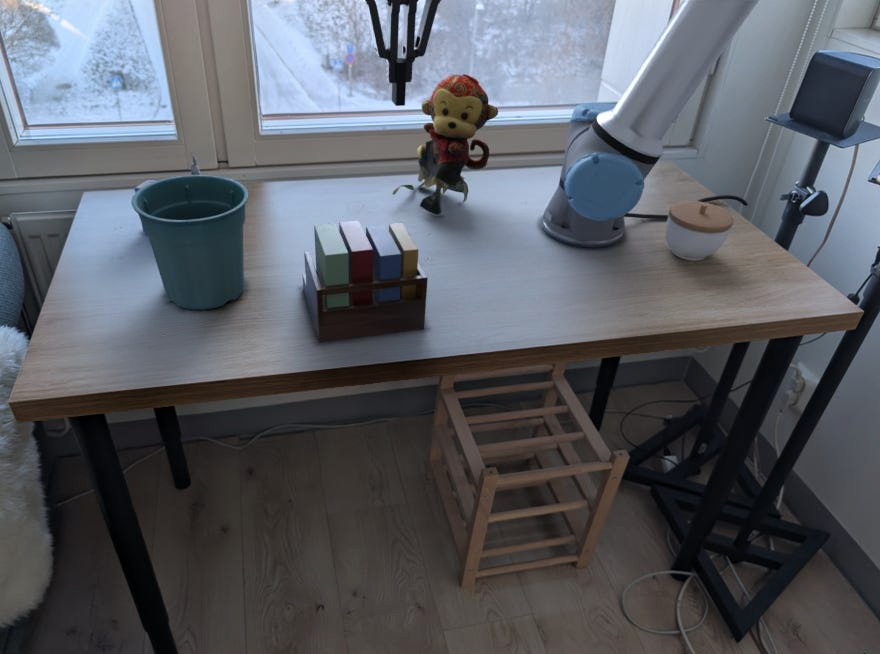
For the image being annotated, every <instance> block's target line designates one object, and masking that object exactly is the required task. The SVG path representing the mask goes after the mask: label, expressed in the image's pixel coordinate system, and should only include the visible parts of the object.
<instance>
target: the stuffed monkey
mask: <svg viewBox="0 0 880 654" xmlns="http://www.w3.org/2000/svg"><path fill="white" fill-rule="evenodd" d="M421 111H422V113H423V114H424V115H426V116H430V119H431V121H432V122H426V123H424V125H423V129H424V130H425V132H426V133H428V134H429V137H430V140H427V141H426V142H425V143H424V144H421V145H419V146H418V148H417V162H418V165H419V174H418V178H417V181H418V182H419V183H421V184H420V185H419V186H418V187H417V189H420V188H422V187H423V186H424V188H425V189H428V188H431V187H433V186H434V185H435V191H434V192H433V193H432V194H431V195H428V196H426V197H424V198H423V199H422V200H421V202H420V203H419V206H420V208H422V209H423V210H425V211H426V212H428V213H430V214H431V215H435V216H437V217H440V216H441V215H442V213H443V200H442V195H444V194H445V193H446V192H447V191H448V190H449V191H452V192H455V193H461V194H463V200H462V202H461V204H463V203H465V202H466V201H467V200H468V194H469V186H468V183H467V182H466V181H465V177H464V176H462V175H461V174H462V170H463V169H464V168H465V167H466V168H468V169H470V170H480V169H484V168H485V167H486V166H487V164H488V162H489V158H490V148H489V146H488V144H487V143H486V142H484V141H482V140H481V139H479V138H474V139H473V137H474V136H475V135H476V132H477V131H478V130H480V129H482V128H483V127H484V126H485V125H486V124H487V122H488V121H490V120H493V119H495V118H496V117H497V116H498V115H499V109H498V108H497V106H494V105H492V104H489V96H488V94H487V92H486V91H485V90H484V89H483V87H482V86H481V85H480V81H478V80H477V78H475V77H473V76H471V75H469V74H465V73H463V74H462V75H461V74H451V75H449V76H447V77H445V78H443V79H441V80H440V81H439V82H438V83H437V85H436V86H435V87H434V90H433V91H432V93H431V96H430V98H429V100H428V99H427V100H424V101H423V102H422V103H421ZM468 139H472V140H471V142H470V144H469V141H468ZM476 146H478V147H479V148H480V149H481V150H482V154H481V157H480V158H478V159H474V158H473V159H472V158H471V157H470V156H469V155H470V151H471V152H472V151H474V150H475V148H476ZM401 187H404V188H406V189H408V190H411V191H415V190H416V188H415V187H414V185H413V184H403V185H399V186H398V187H396V188H395V189H394V190H393V191H392V195H393V196H394V195H396V194H397V193H398V191H399V190H400V188H401ZM441 191H442V192H441Z"/></svg>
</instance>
